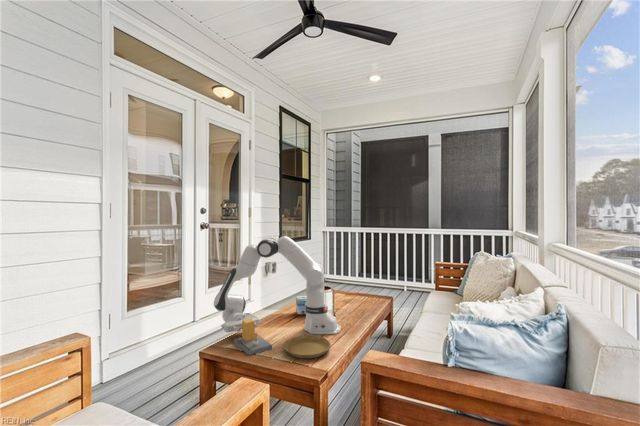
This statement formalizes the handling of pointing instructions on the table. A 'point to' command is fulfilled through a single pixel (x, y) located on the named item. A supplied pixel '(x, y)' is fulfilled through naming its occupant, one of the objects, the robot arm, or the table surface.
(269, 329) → the table surface
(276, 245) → the robot arm
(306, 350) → the plant saucer
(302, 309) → the light bulb box
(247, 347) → the plate
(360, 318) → the table surface
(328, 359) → the table surface
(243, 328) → the tall orange brick
